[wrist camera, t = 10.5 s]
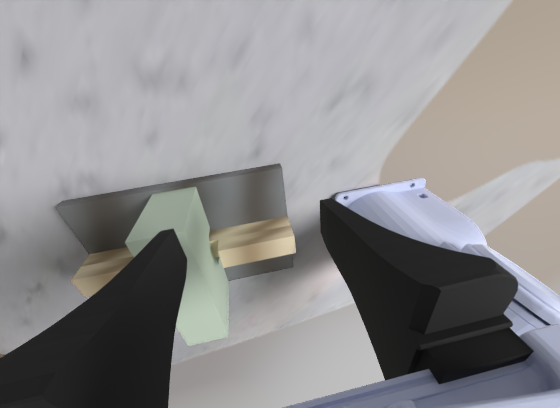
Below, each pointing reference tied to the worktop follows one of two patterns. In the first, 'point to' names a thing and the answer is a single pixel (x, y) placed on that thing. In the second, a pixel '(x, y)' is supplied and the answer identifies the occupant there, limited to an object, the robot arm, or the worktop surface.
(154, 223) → the pale green block
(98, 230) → the joint board
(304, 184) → the worktop surface
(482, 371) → the robot arm
